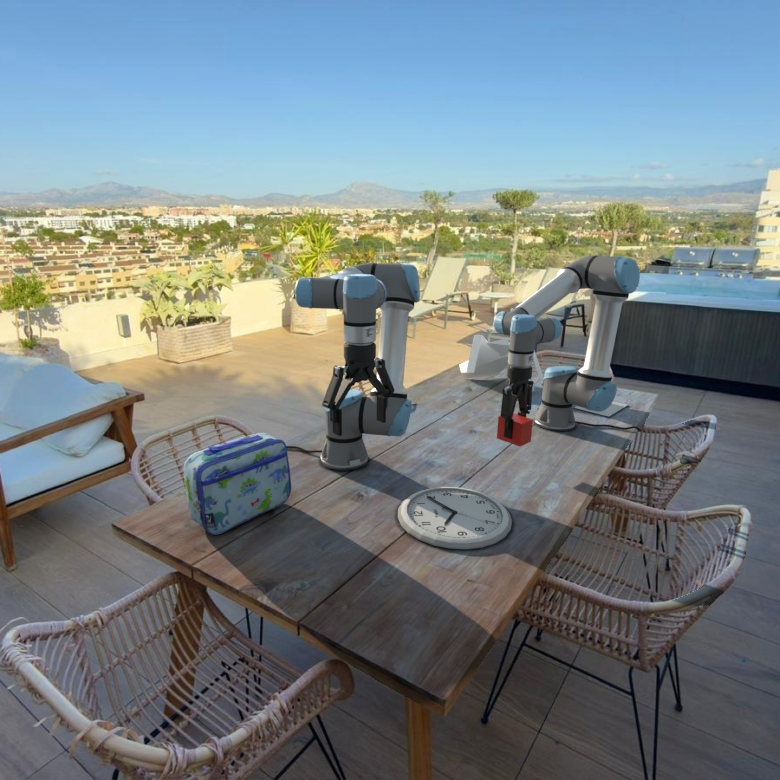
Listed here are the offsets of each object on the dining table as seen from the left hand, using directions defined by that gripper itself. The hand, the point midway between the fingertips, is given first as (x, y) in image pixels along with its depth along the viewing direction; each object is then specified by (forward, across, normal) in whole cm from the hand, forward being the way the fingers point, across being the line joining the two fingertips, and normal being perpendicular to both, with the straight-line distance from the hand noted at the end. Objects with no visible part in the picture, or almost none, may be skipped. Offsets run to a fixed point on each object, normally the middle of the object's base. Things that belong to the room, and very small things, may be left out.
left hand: (359, 427), depth 128 cm
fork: (+26, +72, +57) cm, 95 cm away
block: (+18, +60, -4) cm, 63 cm away
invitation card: (+26, +137, +5) cm, 139 cm away
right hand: (+16, +60, -4) cm, 62 cm away
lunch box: (+26, -22, +21) cm, 40 cm away
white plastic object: (+26, +128, +53) cm, 141 cm away
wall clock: (+26, +20, -14) cm, 36 cm away
